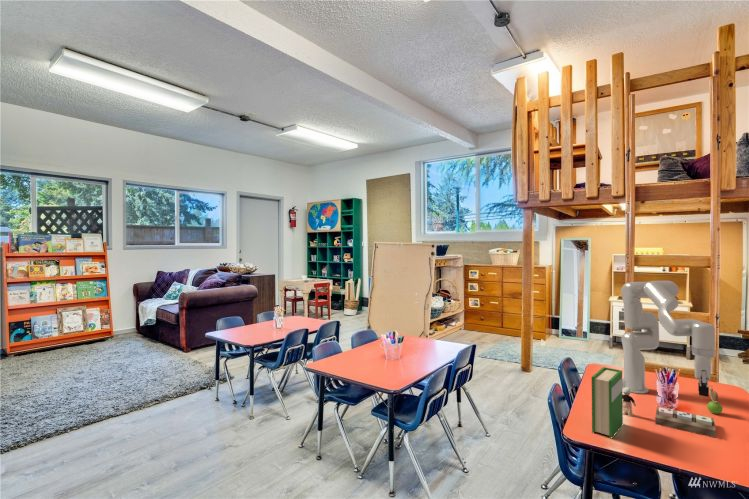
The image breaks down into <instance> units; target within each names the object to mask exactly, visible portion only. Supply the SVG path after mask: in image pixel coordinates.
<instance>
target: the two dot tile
mask: <svg viewBox="0 0 749 499" xmlns="http://www.w3.org/2000/svg"><path fill="white" fill-rule="evenodd" d="M658 407H659V415H663V416H667V417H672V418H673V410H674V409H671V408H666V407H661V406H658ZM660 407H661V408H660ZM665 408H666V409H665ZM670 409H671V410H670Z"/></svg>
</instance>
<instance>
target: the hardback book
mask: <svg viewBox="0 0 749 499" xmlns="http://www.w3.org/2000/svg"><path fill="white" fill-rule="evenodd" d="M622 379H623V370H621V369H616V368H611V367H605V366H603V367H601V368H600V369H599V370H597V372H596V373H594V374H593V375H592V376H591V433H592V432H595V433H600V434H603V435H606V436H609V438H610V437H613V436H614V434H615V433H616V432H617V433H618V431H619V430H620V429H619V428H621V427H622V426H623V425H622V424H624V423H623V422H624V421H623V420H624V417H623V415H624V414H623V399H622V395H623V392H622V390H623V389H622ZM618 429H619V430H618ZM617 433H616V434H617ZM616 434H615V435H616ZM614 437H615V436H614ZM614 437H613V438H614Z"/></svg>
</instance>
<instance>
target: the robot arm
mask: <svg viewBox="0 0 749 499" xmlns="http://www.w3.org/2000/svg"><path fill="white" fill-rule="evenodd" d="M679 290H680V289H679V286H678V284H676V283H675V282H674V281H672V280H650V281H631V282H626V283H624V284H623V285H622V287H621V291H620V295H621V298H622V302H623V319H624V320H623V322H624V326H625V327H626V328H627V329H628V330H634V331H627V332H624V333H623V334H622V336H621V344H622V350H623V378H622V390H623V389H624V388H625V387H628V388H630V393H632V394H633V393H634V394H643V395H644V394H647V393H649V388H648V387H647V386H646V367H645V366H646V362H645V361H646V359H645V357H644V354H643V353H642V352H641V351H642V350H643V351H644V350H646V351H647V350H656V349H657V348H658V347H659V346H660V325H661V326H662V328H663V329H664V330H665V331H666V332H667V333H668V334H669V335H670V336H674V337H691V355H693V356H694V378H695V379H698V383H697V384H698V387H697V388H698V389H697V390H698V395H699V396H701V397H707V398H708V397H710V386H709V381H711V377H712V376H711V374H712V359H713V358H715V357H716V328H715V325H714V324H711V323H707V322H703V321H701V320H700V319H695V318H678V319H677V318H676V319H675V318H674V317H673V316H672V315H671V314H670V313H671V312H673V311H674V310H676V309H677V308H678V306H679V300H678V299H677V298H676V296H678V294H679ZM640 298H644V299H645V298H649V299H650V300H651V302H653V304H654V305H655V306H656V307H657V308H658V310H657V315H656V314H654V313H653V312H651V311H643V303H642V302H641V300H640ZM659 324H660V325H659ZM635 330H641V331H635ZM642 330H643V331H642Z"/></svg>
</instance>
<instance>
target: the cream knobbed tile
mask: <svg viewBox="0 0 749 499" xmlns="http://www.w3.org/2000/svg"><path fill="white" fill-rule="evenodd" d="M695 415H696V423H700V424H704V425H709V426H712V420H711V418H712V417H710V418H709V416H705V415H700V414H695ZM699 415H700V416H699ZM704 416H705V417H704Z"/></svg>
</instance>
